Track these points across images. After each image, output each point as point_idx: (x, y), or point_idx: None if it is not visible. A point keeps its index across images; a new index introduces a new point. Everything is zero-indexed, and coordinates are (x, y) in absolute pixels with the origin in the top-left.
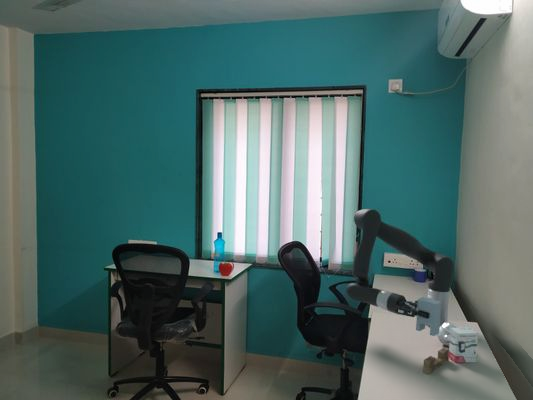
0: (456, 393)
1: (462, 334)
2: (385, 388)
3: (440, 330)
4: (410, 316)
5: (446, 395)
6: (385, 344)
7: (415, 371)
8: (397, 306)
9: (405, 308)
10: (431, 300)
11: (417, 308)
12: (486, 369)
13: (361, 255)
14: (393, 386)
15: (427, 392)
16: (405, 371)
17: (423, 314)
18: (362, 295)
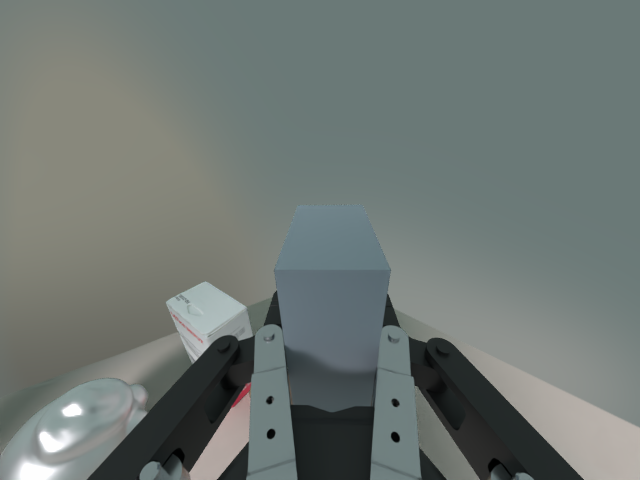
0: (404, 319)
1: (238, 302)
2: (626, 454)
3: (81, 466)
4: (456, 397)
5: (432, 327)
6: None
7: (425, 441)
8: None
9: (509, 436)
10: (317, 224)
11: (379, 340)
12: (253, 318)
13: None
14: (580, 440)
15: (471, 355)
16: (467, 474)
17: (389, 306)
18: None
